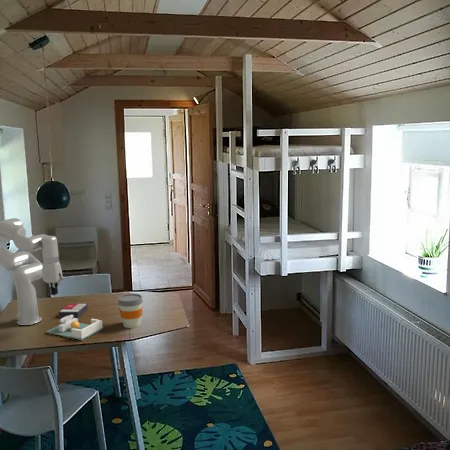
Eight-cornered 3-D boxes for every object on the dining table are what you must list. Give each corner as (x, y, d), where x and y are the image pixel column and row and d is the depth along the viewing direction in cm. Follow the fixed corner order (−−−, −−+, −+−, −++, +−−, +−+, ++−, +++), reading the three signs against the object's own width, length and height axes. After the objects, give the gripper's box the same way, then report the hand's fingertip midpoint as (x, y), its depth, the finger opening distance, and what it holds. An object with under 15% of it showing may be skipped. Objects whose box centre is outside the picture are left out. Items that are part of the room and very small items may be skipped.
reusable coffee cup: (118, 322, 258) (116, 295, 256) (141, 318, 263) (139, 292, 260) (122, 330, 247) (119, 302, 244) (146, 326, 251) (144, 299, 248)
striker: (57, 330, 246) (56, 320, 245) (73, 323, 256) (72, 313, 255) (62, 332, 244) (61, 321, 243) (78, 324, 254) (77, 314, 253)
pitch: (46, 333, 247) (45, 331, 246) (69, 322, 261) (68, 320, 260) (81, 341, 236) (81, 339, 236) (103, 329, 250) (103, 327, 250)
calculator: (87, 303, 281) (77, 310, 266) (87, 310, 282) (78, 318, 267) (69, 303, 282) (58, 311, 267) (69, 310, 283) (59, 318, 268)
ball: (69, 330, 247) (68, 322, 246) (75, 327, 251) (74, 319, 250) (75, 331, 245) (74, 323, 244) (81, 328, 249) (81, 320, 248)
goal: (72, 336, 239) (71, 329, 238) (93, 325, 252) (92, 318, 251) (82, 338, 236) (81, 331, 235) (102, 327, 249) (102, 320, 248)
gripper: (34, 260, 247) (38, 294, 250) (56, 263, 240) (59, 298, 244) (46, 257, 254) (49, 290, 257) (67, 259, 247) (70, 293, 250)
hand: (54, 294), depth 250 cm, fingers closed
